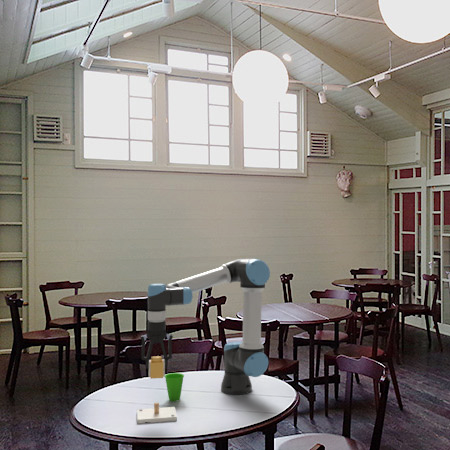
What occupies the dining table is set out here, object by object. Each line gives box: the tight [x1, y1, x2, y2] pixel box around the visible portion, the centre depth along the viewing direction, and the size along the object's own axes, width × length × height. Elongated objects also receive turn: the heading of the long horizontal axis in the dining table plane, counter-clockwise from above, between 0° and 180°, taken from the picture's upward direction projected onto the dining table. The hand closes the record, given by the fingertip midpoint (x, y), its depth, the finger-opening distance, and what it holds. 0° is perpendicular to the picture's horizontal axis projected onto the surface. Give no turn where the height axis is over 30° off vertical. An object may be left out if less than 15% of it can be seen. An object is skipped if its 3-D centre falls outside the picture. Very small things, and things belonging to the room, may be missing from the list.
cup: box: [164, 372, 185, 402], centre depth 227 cm, size 9×9×11 cm
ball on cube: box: [149, 355, 164, 380], centre depth 206 cm, size 5×5×8 cm
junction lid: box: [136, 402, 178, 424], centre depth 206 cm, size 16×12×6 cm
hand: (156, 375), depth 206 cm, fingers closed on ball on cube, 5 cm apart
